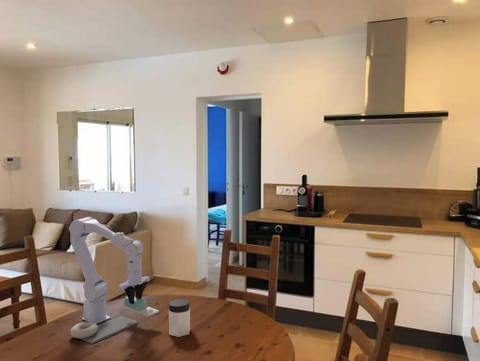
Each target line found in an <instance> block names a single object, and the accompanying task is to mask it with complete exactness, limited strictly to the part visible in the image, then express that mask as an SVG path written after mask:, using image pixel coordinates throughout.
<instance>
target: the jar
mask: <svg viewBox="0 0 480 361" xmlns="http://www.w3.org/2000/svg"><path fill="white" fill-rule="evenodd" d="M190 303H191V302H190V300H188V299H184V298H176V299H173V300H170V301H169V303H168V309H169V310H168V334H169V335H170V336H174V337H178V338H179V337H184V336H187V335H190V332H191V304H190Z"/></svg>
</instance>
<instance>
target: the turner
mask: <svg viewBox="0 0 480 361" xmlns="http://www.w3.org/2000/svg"><path fill="white" fill-rule="evenodd" d="M124 306H125V307H127V308H130V309H132V310H134V311H137V314H140V315H142V316H145V317H147V318H148V317H151V316H153V315H155V314H158V313H159V312H160V310H158V309H156V308H154V307H150V306H147V301H146V300H144V299H142V298H141V299H139V298H136V296H134V304H130V303H129V299H128V296H127V295H126V296H125V297H124Z"/></svg>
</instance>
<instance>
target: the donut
mask: <svg viewBox="0 0 480 361" xmlns="http://www.w3.org/2000/svg"><path fill="white" fill-rule="evenodd" d="M97 325H98V324H95V323H93V322H88V321H83V322H79V323H77V324H75V325H74V326H72V327H71V329H70V332H69V333H70V335H71V337H73V338H75V339H79V338H87V337H90V336H92V335H94V334H95V333H96V332H97V330H98V326H97Z"/></svg>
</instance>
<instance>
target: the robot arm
mask: <svg viewBox="0 0 480 361" xmlns="http://www.w3.org/2000/svg"><path fill="white" fill-rule="evenodd" d="M68 231H69V233H70V240H69V241H70V244H71V246H72V250H73V251H74V255H75V257H76V260H77V261H78V262H77V263H78V264H79V267H80V269H81V270H80V271H81V272H82V275H83V277H84V279H85V280H84V282H83V286H82V287H83V288H82V289H83V296H84V301H83V317H82V318H81V319H82V320H84V322H93V323H95V324H96V325H98V324H99V323H102V322H104V321H105V322H106V321H108V320H109V319H110V320H111V318H112V317H111V316H110V315H107V301H106V300H107V293H108V292H109V290H110V288H109V284H108V282H107V281H105V279H104V277H103V276H101V275H100V274H99V273H98V271H97V268H96V266H95V262H94V260H93V258H92V255H91V252H90V250H89V248H88V245H87V243H86V242H87V241H86V240H87V238H88V236H89V235H90V234H91V233H95V234H97V235H99V236H101V237H103V238H105V239H107V240H109V241H110V243H111V245H112V246H114V247H115V248H118V249H120V250H122V251H123V252H124V254H125V255H126V260H127V263H126V264H127V280H125V282H122V283H121V284H119V285H118V290H120V291H124V292H125V295H126V297H127V296H128V299H129V303H130V304H134V297H136V298H139V299H141V300H142V297H143V294H144V291H145V289H146V287H147V284H146V282H147V283H149V282H150V281H151V280H150V279H151V278H150V276H147V275H145V276H142V275H143V274H142V273H143V268H142V262H143V260H142V253H143V251H144V250H145V249H144V248H145V247H144V246H145V245H144V244H143V242H142V241H140V240H139V239H135V240H134V239H133V238H132V237H131V238H130V237H128V236H126V235H125V233H124V232H122V231H121V232H120V231H119V232H114V231H112V230H111V229H110V228H108V227H106V226H105V225H103V224H101V223H100V222H99V221H98V220H97V219H95V218H93V217H92V216H87V217H84V218H79V219H74V220H73V221H72V222H71V223H70V224H69V227H68Z"/></svg>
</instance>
